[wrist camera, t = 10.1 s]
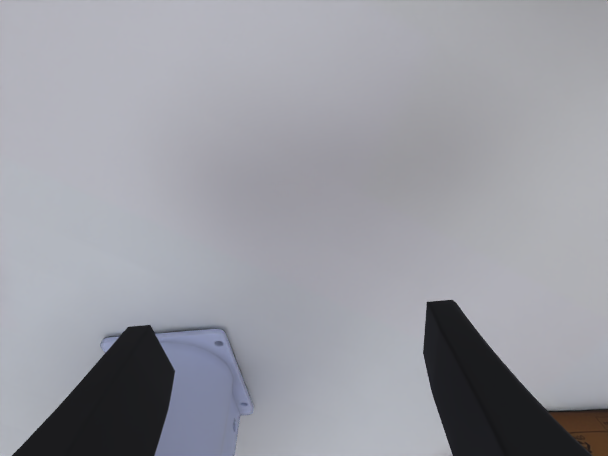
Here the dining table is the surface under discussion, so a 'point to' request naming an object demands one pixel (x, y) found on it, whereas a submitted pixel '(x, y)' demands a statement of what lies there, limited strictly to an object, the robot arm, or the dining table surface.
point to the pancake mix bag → (586, 429)
